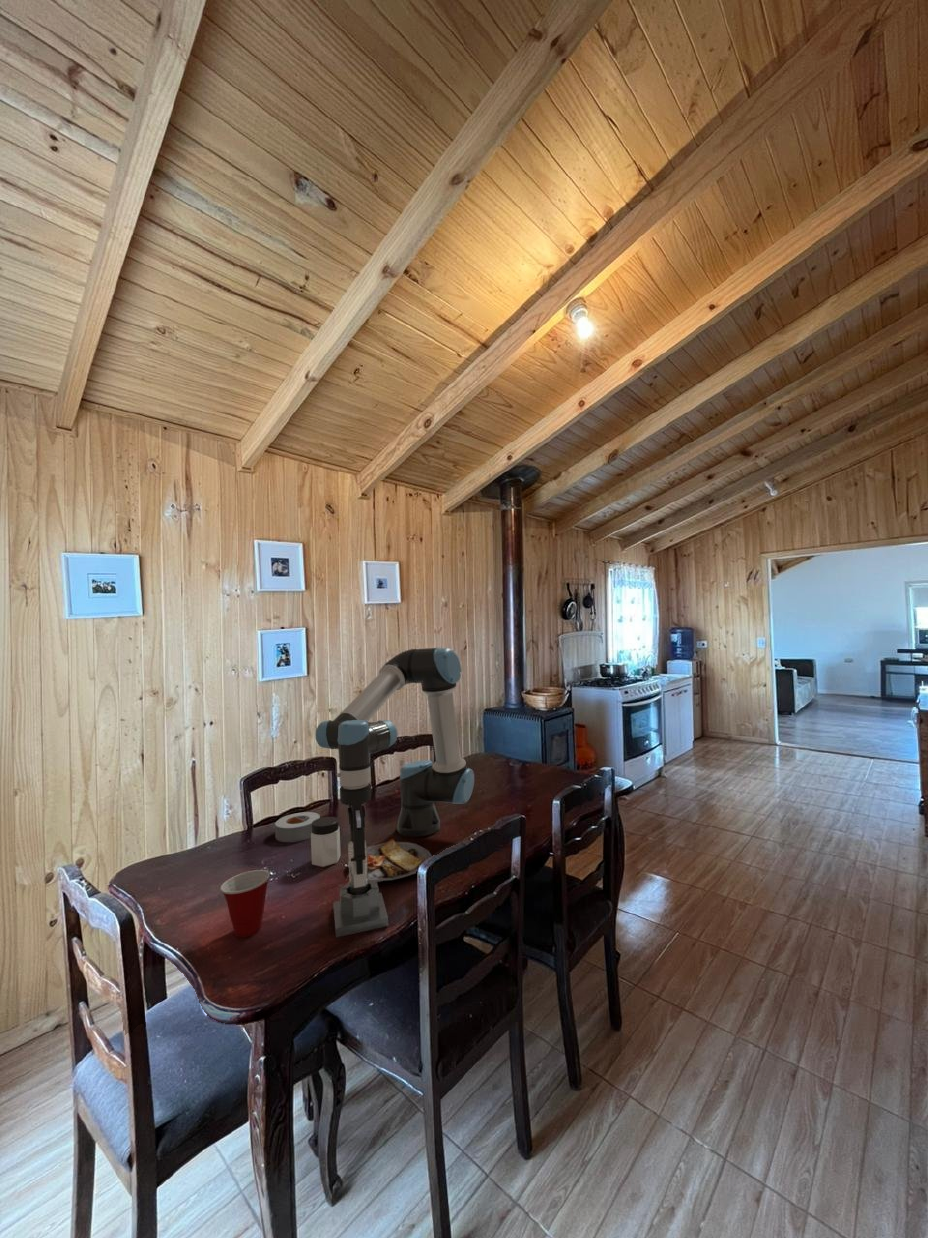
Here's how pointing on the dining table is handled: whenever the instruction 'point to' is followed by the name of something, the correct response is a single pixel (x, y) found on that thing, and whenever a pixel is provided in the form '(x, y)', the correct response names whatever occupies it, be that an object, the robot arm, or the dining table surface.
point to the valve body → (359, 910)
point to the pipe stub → (351, 876)
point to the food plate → (394, 859)
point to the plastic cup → (246, 900)
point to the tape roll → (295, 827)
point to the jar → (325, 841)
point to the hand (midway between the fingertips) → (358, 881)
